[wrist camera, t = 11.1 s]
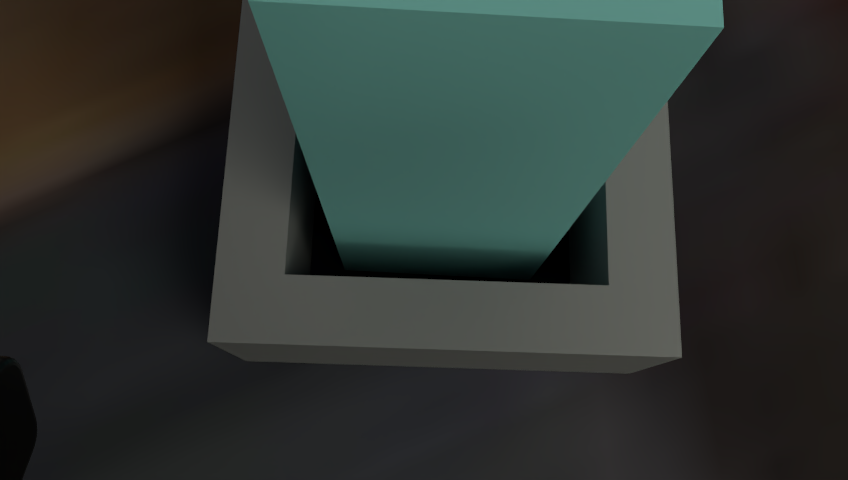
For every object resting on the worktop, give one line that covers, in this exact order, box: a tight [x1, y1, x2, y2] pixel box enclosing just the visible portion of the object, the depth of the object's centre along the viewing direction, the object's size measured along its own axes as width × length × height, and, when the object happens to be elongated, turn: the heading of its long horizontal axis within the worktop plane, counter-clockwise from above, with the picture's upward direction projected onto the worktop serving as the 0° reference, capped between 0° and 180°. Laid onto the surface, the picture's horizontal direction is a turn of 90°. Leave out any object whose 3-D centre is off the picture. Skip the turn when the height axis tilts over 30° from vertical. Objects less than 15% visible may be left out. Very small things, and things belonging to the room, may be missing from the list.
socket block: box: [207, 0, 682, 374], centre depth 19 cm, size 10×10×4 cm
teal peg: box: [248, 0, 724, 280], centre depth 15 cm, size 5×5×13 cm
